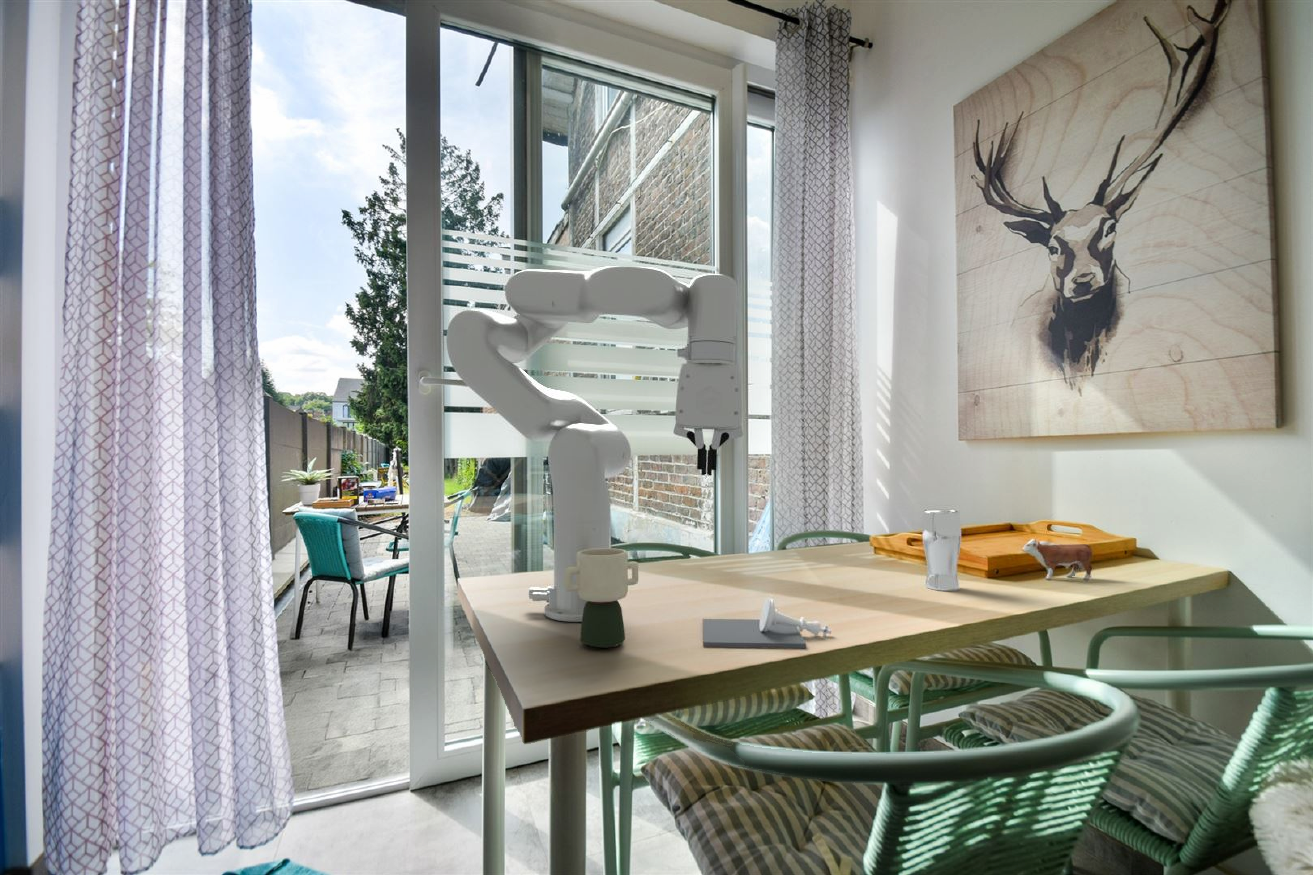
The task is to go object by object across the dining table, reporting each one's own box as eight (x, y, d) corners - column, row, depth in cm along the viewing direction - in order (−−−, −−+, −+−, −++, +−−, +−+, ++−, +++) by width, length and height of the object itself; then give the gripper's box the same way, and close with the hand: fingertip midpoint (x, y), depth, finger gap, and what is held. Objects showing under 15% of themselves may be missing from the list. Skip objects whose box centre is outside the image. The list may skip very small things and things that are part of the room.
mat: (703, 646, 86) (703, 642, 86) (702, 622, 98) (702, 618, 98) (806, 648, 85) (805, 643, 85) (792, 623, 97) (792, 619, 97)
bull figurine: (1019, 575, 133) (1019, 537, 133) (1087, 577, 131) (1087, 538, 131) (1029, 579, 129) (1028, 540, 129) (1099, 581, 127) (1098, 541, 127)
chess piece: (762, 636, 88) (830, 654, 88) (771, 603, 88) (839, 621, 88) (757, 624, 93) (822, 641, 93) (766, 593, 93) (831, 610, 93)
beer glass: (916, 587, 122) (915, 511, 122) (932, 582, 126) (931, 508, 127) (953, 593, 117) (951, 513, 117) (968, 587, 121) (966, 510, 122)
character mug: (629, 633, 92) (628, 545, 92) (648, 646, 86) (648, 552, 86) (557, 643, 88) (557, 550, 88) (572, 658, 81) (571, 558, 81)
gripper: (660, 352, 94) (656, 474, 93) (761, 354, 92) (756, 478, 92) (664, 359, 101) (660, 471, 101) (757, 361, 100) (753, 475, 99)
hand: (706, 474), depth 96 cm, fingers closed
